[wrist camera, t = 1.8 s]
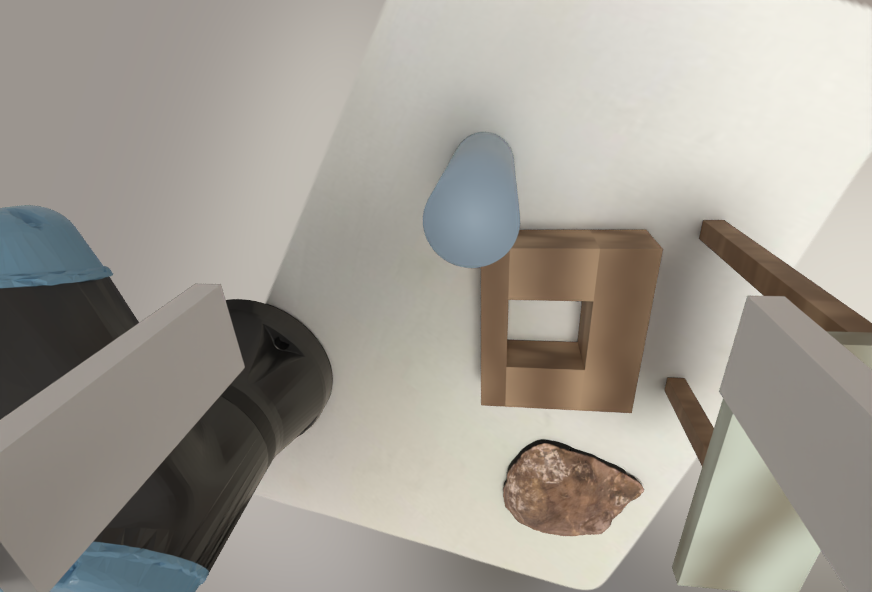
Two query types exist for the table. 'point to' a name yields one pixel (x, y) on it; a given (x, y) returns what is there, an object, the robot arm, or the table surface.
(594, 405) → the socket station
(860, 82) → the table surface
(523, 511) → the shell
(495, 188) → the peg
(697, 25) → the table surface
